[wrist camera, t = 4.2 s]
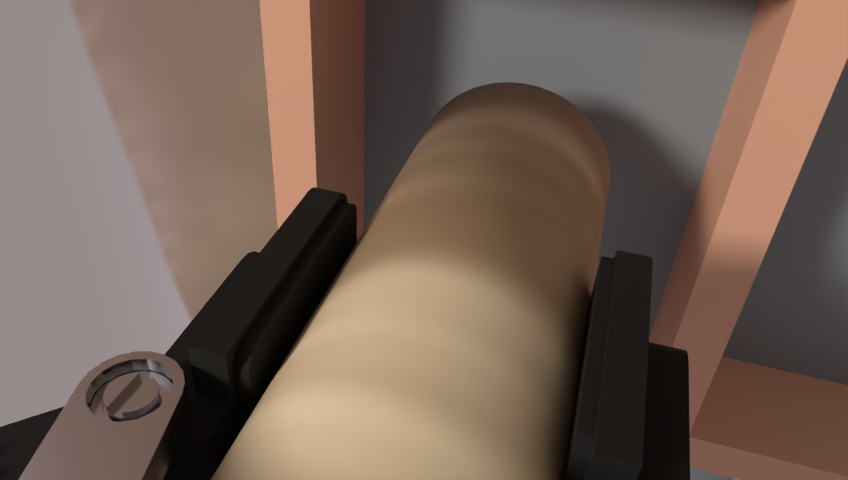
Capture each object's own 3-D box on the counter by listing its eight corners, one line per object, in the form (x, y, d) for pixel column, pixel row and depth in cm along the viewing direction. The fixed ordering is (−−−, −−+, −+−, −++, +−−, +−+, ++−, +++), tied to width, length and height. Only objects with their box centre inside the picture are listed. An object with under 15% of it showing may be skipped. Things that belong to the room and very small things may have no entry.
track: (329, -197, 15) (245, -176, 12) (1587, -74, 11) (1906, -1, 8) (343, 488, 28) (305, 573, 25) (900, 649, 24) (929, 770, 22)
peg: (426, 67, 14) (-44, 712, 5) (630, 101, 14) (520, 937, 4) (416, 230, 17) (84, 875, 7) (589, 266, 16) (463, 1037, 7)
